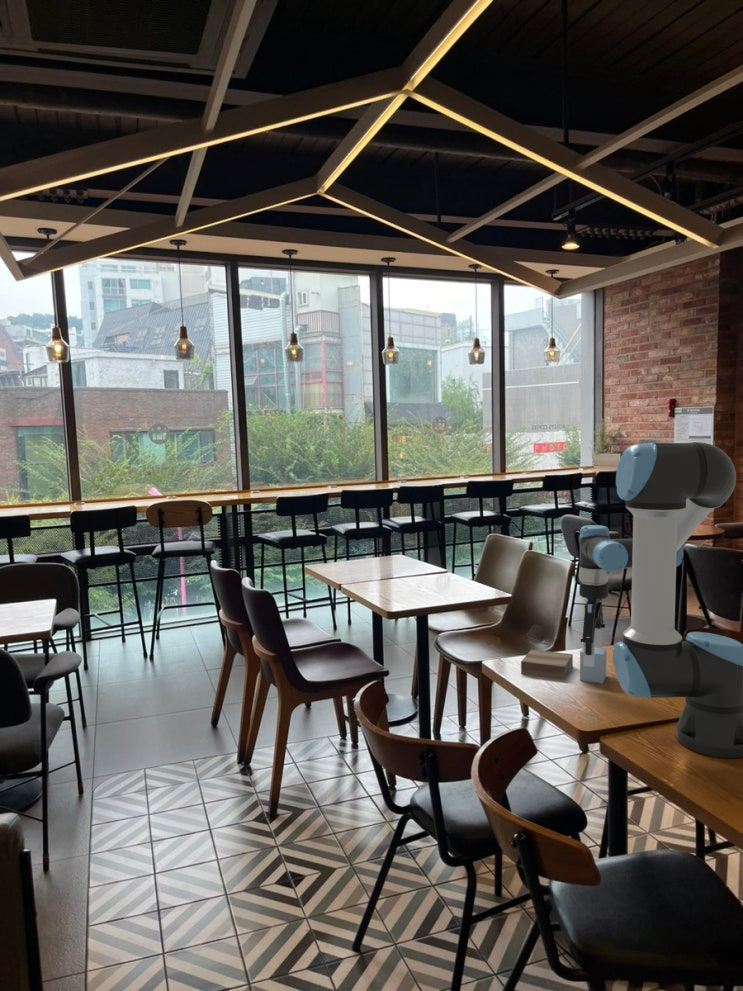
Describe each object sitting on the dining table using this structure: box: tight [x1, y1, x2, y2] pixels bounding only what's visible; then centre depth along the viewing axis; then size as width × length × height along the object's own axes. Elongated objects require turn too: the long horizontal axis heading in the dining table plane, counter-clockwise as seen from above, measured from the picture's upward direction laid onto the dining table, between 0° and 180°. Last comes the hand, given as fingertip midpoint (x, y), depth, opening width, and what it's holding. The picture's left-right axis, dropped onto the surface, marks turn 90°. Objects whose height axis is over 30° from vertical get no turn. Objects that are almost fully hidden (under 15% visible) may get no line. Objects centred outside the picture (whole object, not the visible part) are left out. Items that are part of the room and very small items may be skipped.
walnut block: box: [520, 649, 574, 681], centre depth 198 cm, size 12×12×4 cm
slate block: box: [579, 646, 607, 684], centre depth 190 cm, size 6×6×8 cm
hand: (592, 658), depth 190 cm, fingers open, 13 cm apart
